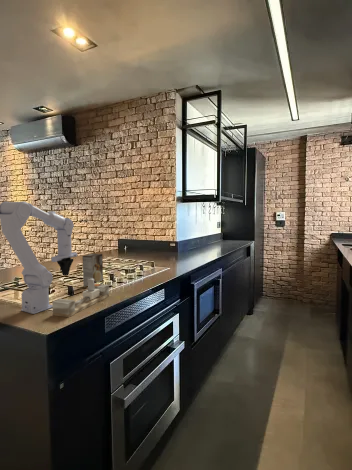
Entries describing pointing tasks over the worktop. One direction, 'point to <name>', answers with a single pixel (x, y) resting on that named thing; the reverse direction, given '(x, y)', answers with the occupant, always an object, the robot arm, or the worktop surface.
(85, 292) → the carriage
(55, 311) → the rail base
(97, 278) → the coffee box
